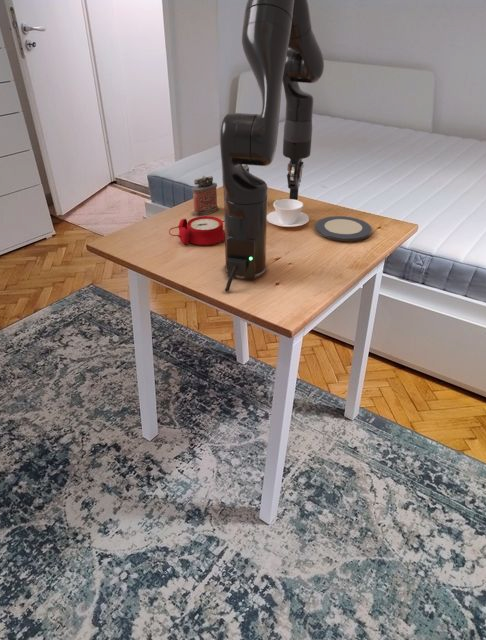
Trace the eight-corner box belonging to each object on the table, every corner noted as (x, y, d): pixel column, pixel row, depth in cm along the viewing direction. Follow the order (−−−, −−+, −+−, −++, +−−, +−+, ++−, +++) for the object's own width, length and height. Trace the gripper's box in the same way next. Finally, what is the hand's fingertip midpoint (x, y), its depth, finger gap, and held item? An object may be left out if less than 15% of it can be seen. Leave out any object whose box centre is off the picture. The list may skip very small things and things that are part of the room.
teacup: (286, 211, 141) (287, 193, 138) (317, 223, 134) (319, 204, 131) (257, 221, 135) (257, 203, 132) (288, 235, 128) (289, 215, 125)
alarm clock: (231, 231, 121) (171, 221, 117) (226, 254, 124) (168, 245, 120) (227, 215, 129) (171, 205, 125) (222, 237, 132) (168, 228, 129)
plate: (369, 246, 123) (370, 241, 122) (311, 239, 126) (311, 234, 125) (372, 223, 134) (373, 218, 134) (318, 218, 137) (319, 213, 136)
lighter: (212, 206, 144) (211, 172, 138) (220, 209, 142) (219, 175, 136) (191, 213, 139) (188, 178, 133) (198, 216, 137) (196, 181, 131)
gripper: (288, 130, 134) (284, 191, 145) (278, 142, 124) (276, 208, 135) (314, 131, 133) (309, 194, 143) (307, 144, 123) (302, 210, 133)
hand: (293, 200), depth 139 cm, fingers closed
